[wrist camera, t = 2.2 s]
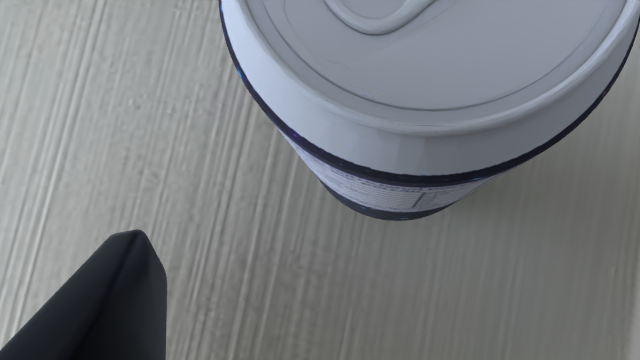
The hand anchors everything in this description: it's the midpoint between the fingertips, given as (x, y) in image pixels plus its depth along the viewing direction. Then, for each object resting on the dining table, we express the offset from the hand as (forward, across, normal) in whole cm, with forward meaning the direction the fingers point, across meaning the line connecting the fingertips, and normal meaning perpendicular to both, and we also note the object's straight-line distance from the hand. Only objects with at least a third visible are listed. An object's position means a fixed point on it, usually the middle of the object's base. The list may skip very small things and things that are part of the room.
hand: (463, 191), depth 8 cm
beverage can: (+9, 0, +5) cm, 11 cm away
